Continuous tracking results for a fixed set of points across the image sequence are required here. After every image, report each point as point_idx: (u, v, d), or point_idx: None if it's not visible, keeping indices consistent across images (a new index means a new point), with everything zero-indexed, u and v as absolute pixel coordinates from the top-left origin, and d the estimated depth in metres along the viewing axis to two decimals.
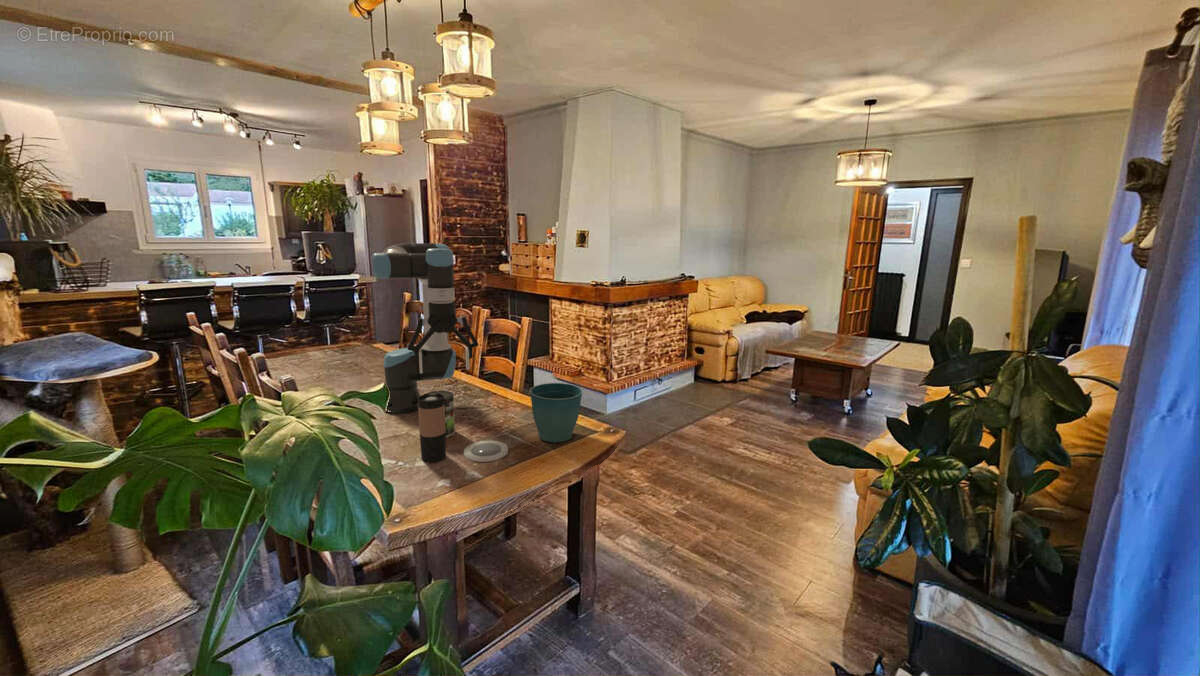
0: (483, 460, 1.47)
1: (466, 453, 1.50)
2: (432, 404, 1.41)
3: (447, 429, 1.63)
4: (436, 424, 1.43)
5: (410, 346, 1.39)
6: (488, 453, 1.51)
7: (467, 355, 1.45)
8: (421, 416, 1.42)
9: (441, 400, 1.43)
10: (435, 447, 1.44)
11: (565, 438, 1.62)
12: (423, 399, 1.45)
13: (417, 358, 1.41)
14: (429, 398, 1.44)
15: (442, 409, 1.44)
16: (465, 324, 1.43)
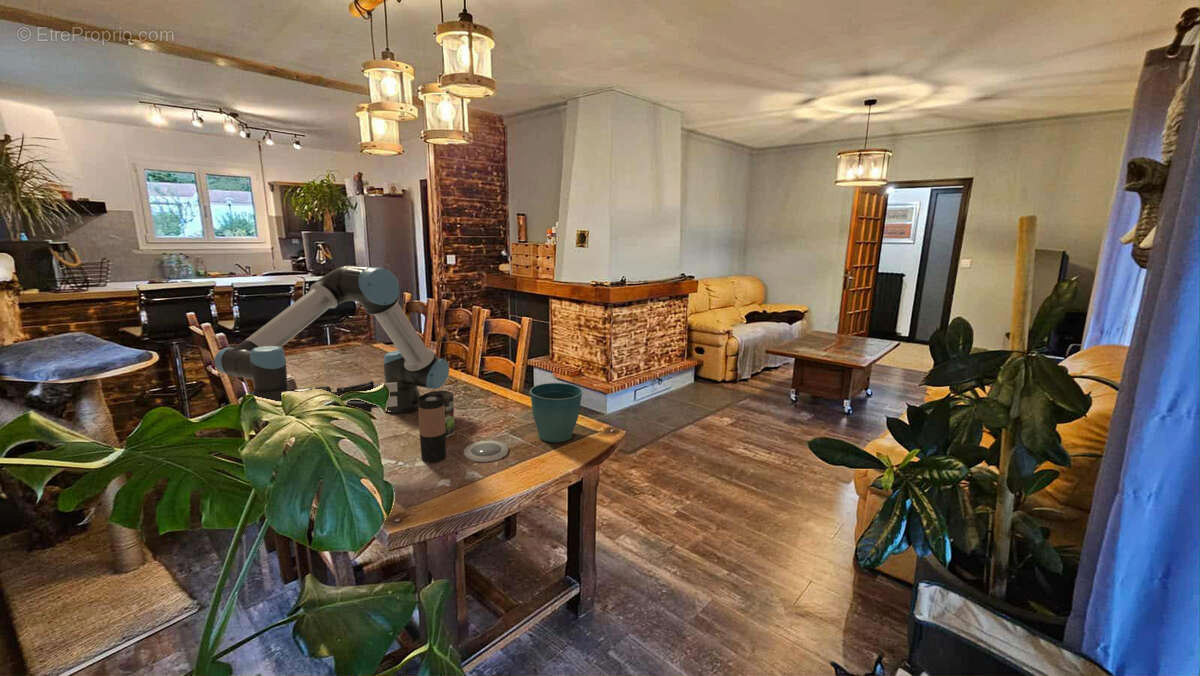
0: (483, 460, 1.47)
1: (466, 453, 1.50)
2: (432, 404, 1.41)
3: (447, 429, 1.63)
4: (436, 424, 1.43)
5: None
6: (488, 453, 1.51)
7: None
8: (421, 416, 1.42)
9: (441, 400, 1.43)
10: (435, 447, 1.44)
11: (565, 438, 1.62)
12: (423, 399, 1.45)
13: None
14: (429, 398, 1.44)
15: (442, 409, 1.44)
16: None
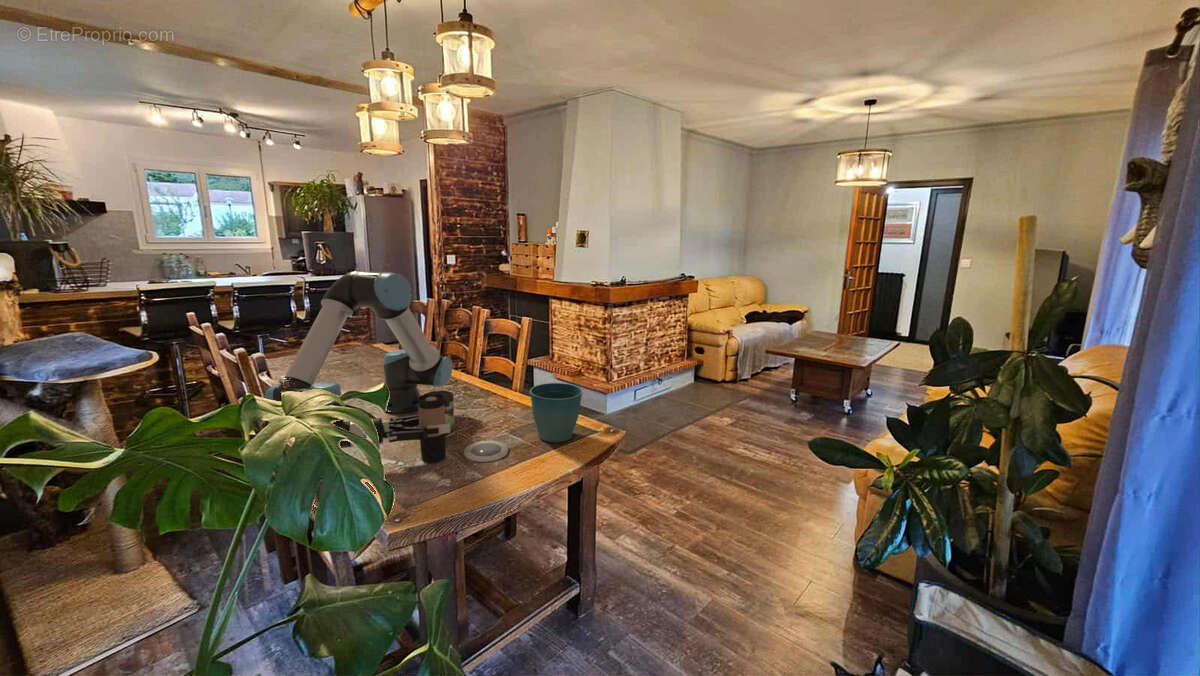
0: (483, 460, 1.47)
1: (466, 453, 1.50)
2: (432, 404, 1.41)
3: None
4: (436, 424, 1.43)
5: None
6: (488, 453, 1.51)
7: None
8: (421, 416, 1.42)
9: (441, 400, 1.43)
10: (435, 447, 1.44)
11: (565, 438, 1.62)
12: (423, 399, 1.45)
13: None
14: (429, 398, 1.44)
15: (442, 409, 1.44)
16: None
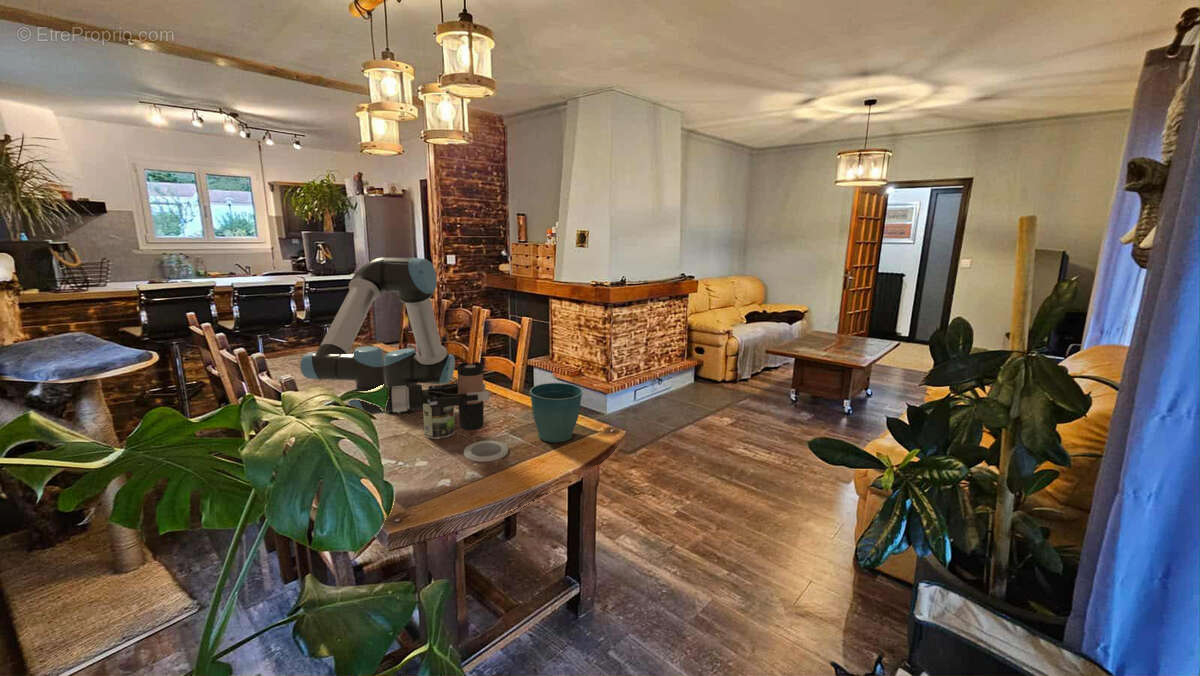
0: (483, 460, 1.47)
1: (466, 453, 1.50)
2: (472, 370, 1.42)
3: (447, 429, 1.63)
4: (475, 391, 1.44)
5: None
6: (488, 453, 1.51)
7: None
8: (460, 383, 1.43)
9: (480, 367, 1.44)
10: (474, 414, 1.45)
11: (565, 438, 1.62)
12: (462, 367, 1.45)
13: None
14: (468, 366, 1.45)
15: (481, 377, 1.45)
16: None
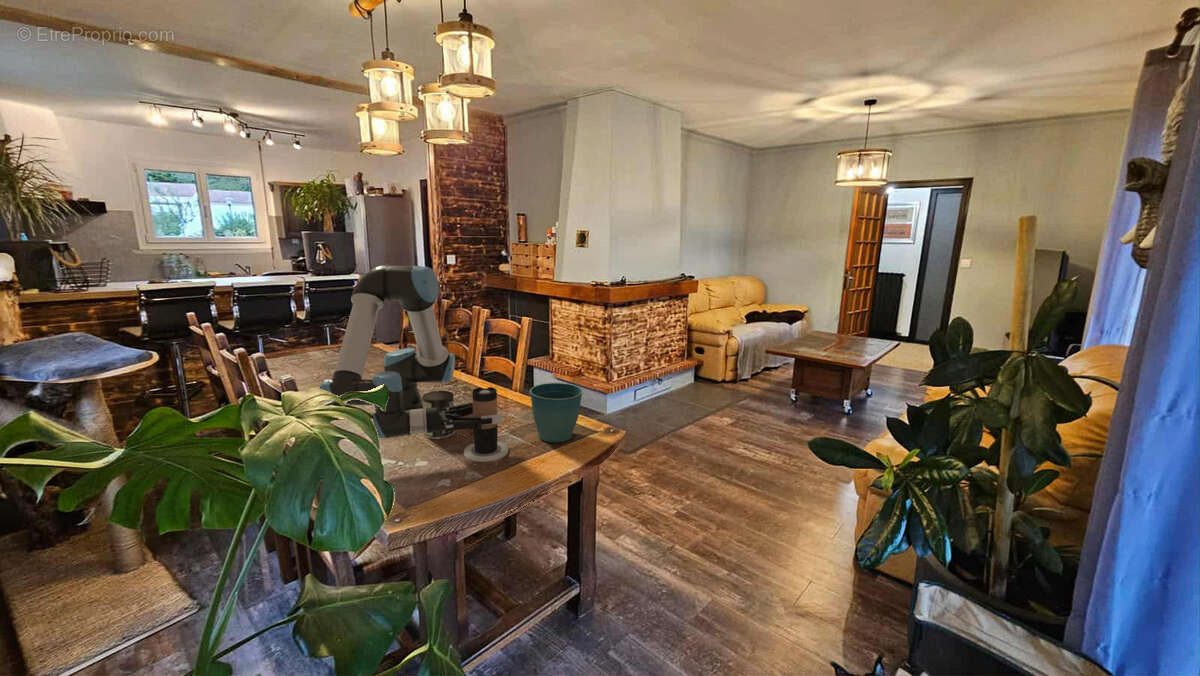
0: (483, 460, 1.47)
1: (466, 453, 1.50)
2: (487, 396, 1.46)
3: None
4: None
5: None
6: None
7: None
8: (476, 408, 1.47)
9: (495, 393, 1.48)
10: (488, 438, 1.49)
11: (565, 438, 1.62)
12: (477, 392, 1.50)
13: None
14: (483, 391, 1.49)
15: (495, 402, 1.49)
16: None
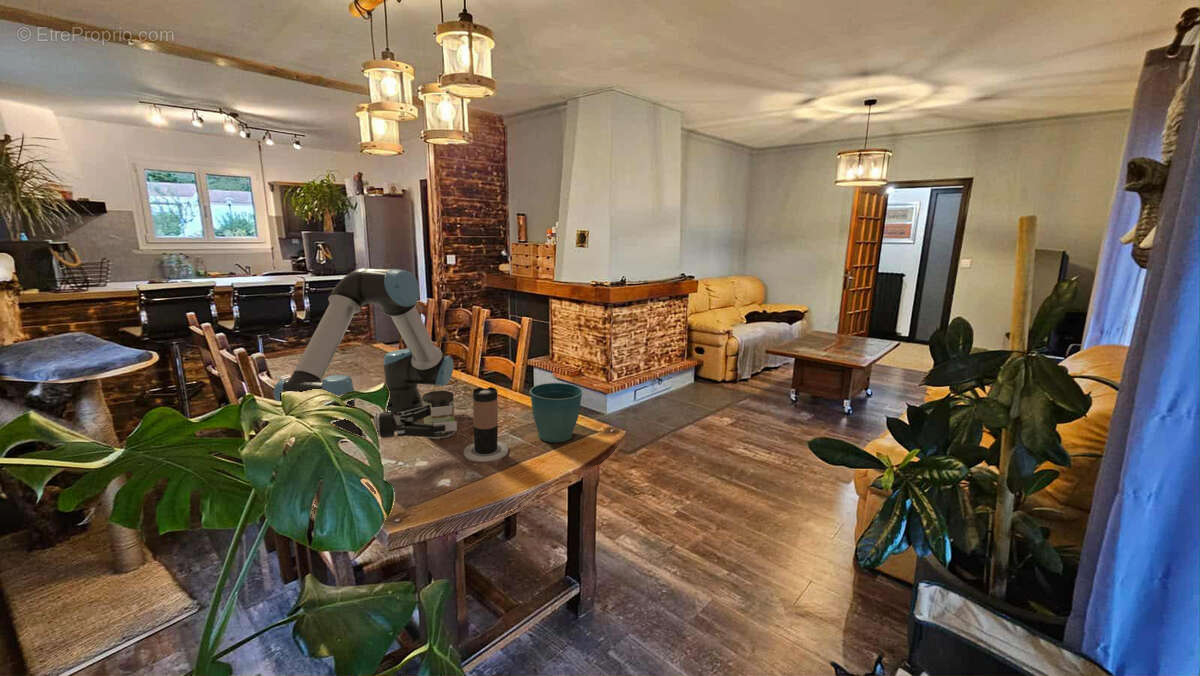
0: (483, 460, 1.47)
1: (466, 453, 1.50)
2: (487, 397, 1.46)
3: None
4: (490, 416, 1.48)
5: None
6: None
7: None
8: (476, 409, 1.47)
9: (495, 393, 1.48)
10: (488, 438, 1.49)
11: (565, 438, 1.62)
12: (477, 392, 1.49)
13: None
14: (483, 391, 1.49)
15: (496, 402, 1.49)
16: None
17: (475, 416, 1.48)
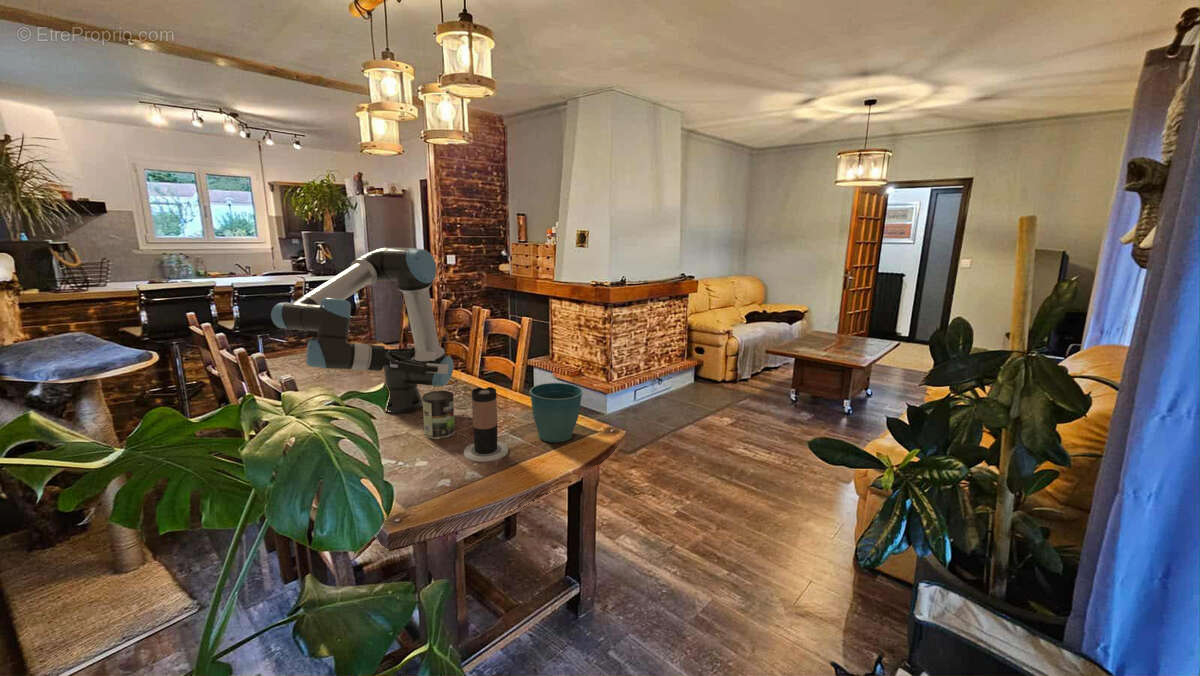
0: (483, 460, 1.47)
1: (466, 453, 1.50)
2: (486, 397, 1.46)
3: (447, 429, 1.63)
4: (489, 416, 1.48)
5: None
6: None
7: None
8: (475, 409, 1.47)
9: (494, 393, 1.48)
10: (488, 438, 1.49)
11: (565, 438, 1.62)
12: (476, 392, 1.49)
13: None
14: (482, 391, 1.49)
15: (495, 402, 1.49)
16: None
17: (474, 416, 1.48)
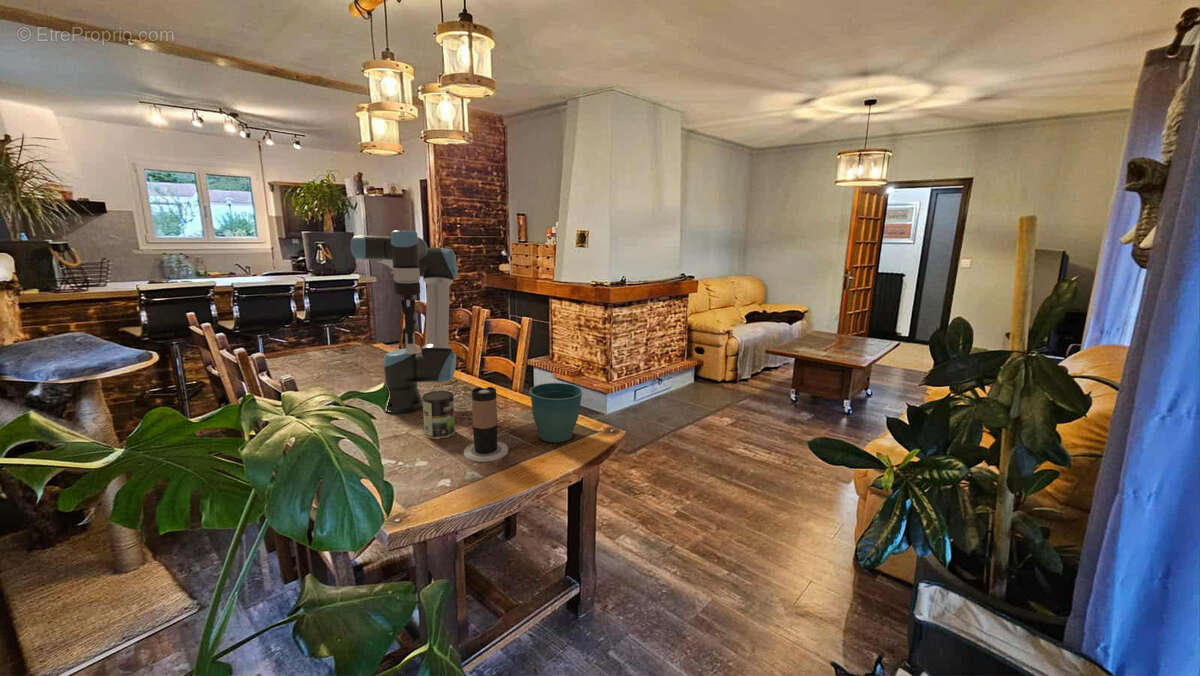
0: (483, 460, 1.47)
1: (466, 453, 1.50)
2: (486, 396, 1.46)
3: (447, 429, 1.63)
4: (489, 416, 1.48)
5: None
6: None
7: None
8: (475, 408, 1.47)
9: (494, 393, 1.48)
10: (488, 438, 1.49)
11: (565, 438, 1.62)
12: (476, 392, 1.50)
13: None
14: (482, 391, 1.49)
15: (495, 401, 1.49)
16: (404, 307, 1.41)
17: (474, 416, 1.48)
